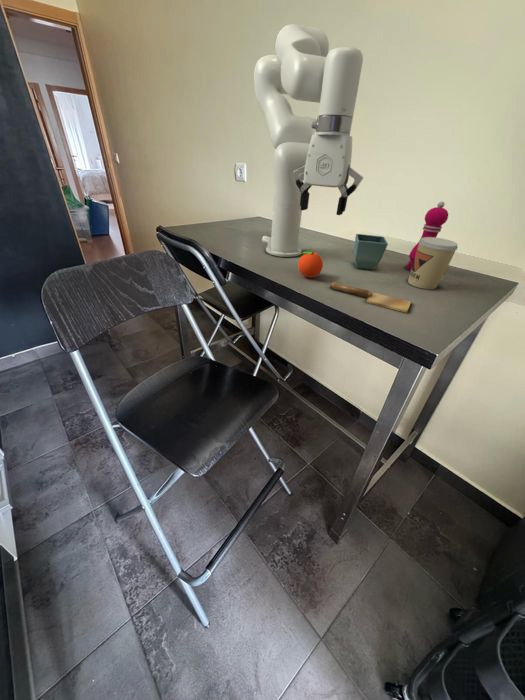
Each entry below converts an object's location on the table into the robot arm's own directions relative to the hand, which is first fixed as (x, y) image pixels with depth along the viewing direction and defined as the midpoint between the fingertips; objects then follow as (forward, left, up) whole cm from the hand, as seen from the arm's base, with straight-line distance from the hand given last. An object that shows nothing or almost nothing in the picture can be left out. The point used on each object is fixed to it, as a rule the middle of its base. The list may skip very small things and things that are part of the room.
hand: (321, 212), depth 73 cm
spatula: (+18, -5, -17) cm, 25 cm away
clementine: (-1, -1, -17) cm, 17 cm away
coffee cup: (+29, +15, -17) cm, 37 cm away
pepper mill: (+26, +28, -17) cm, 42 cm away
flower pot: (+11, +19, -17) cm, 28 cm away
